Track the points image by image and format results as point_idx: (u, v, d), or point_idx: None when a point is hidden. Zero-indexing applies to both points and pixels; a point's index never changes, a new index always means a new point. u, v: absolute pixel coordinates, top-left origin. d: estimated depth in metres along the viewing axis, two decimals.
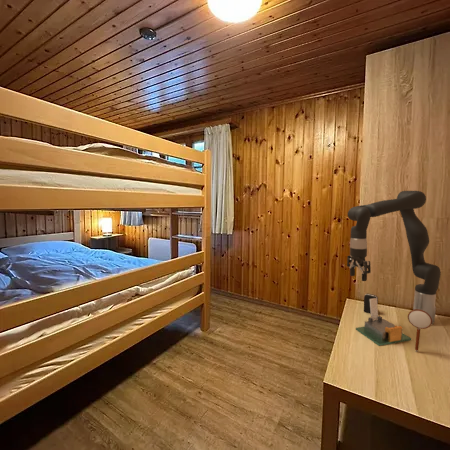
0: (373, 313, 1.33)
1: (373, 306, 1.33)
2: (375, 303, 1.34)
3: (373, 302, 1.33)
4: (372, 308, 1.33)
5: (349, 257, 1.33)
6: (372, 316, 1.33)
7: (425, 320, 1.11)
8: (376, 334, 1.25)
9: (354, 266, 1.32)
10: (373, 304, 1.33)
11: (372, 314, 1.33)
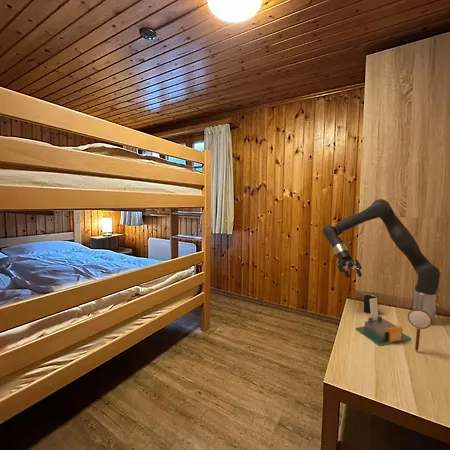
0: (373, 313, 1.33)
1: (373, 306, 1.33)
2: (375, 303, 1.34)
3: (373, 302, 1.33)
4: (372, 308, 1.33)
5: None
6: (372, 316, 1.33)
7: (425, 320, 1.11)
8: (376, 334, 1.25)
9: None
10: (373, 304, 1.33)
11: (372, 314, 1.33)
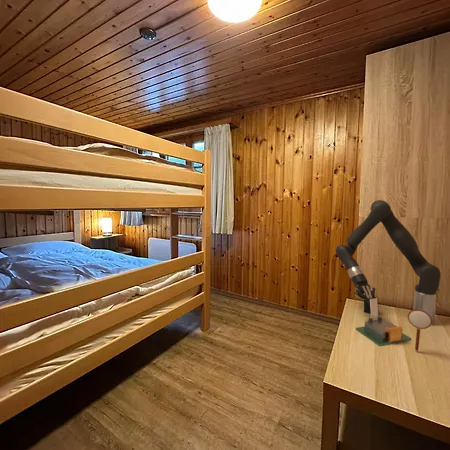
0: (373, 313, 1.33)
1: (373, 306, 1.33)
2: (375, 303, 1.34)
3: (374, 302, 1.33)
4: (372, 308, 1.33)
5: None
6: (372, 316, 1.33)
7: (425, 320, 1.11)
8: (376, 334, 1.25)
9: (369, 295, 1.37)
10: (373, 304, 1.33)
11: (372, 314, 1.33)
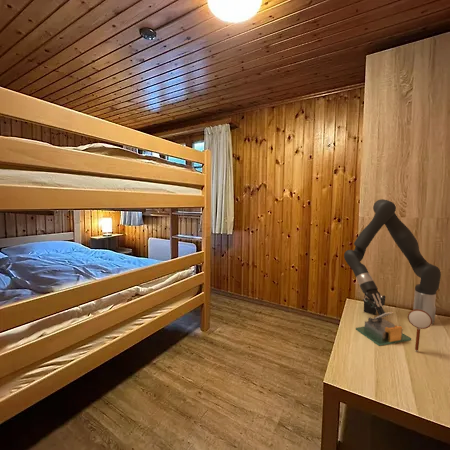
0: (378, 318, 1.30)
1: (383, 315, 1.27)
2: (387, 314, 1.27)
3: (386, 314, 1.26)
4: (381, 316, 1.28)
5: None
6: (375, 319, 1.31)
7: (425, 320, 1.11)
8: (376, 334, 1.25)
9: (379, 303, 1.31)
10: (384, 315, 1.27)
11: (376, 318, 1.30)
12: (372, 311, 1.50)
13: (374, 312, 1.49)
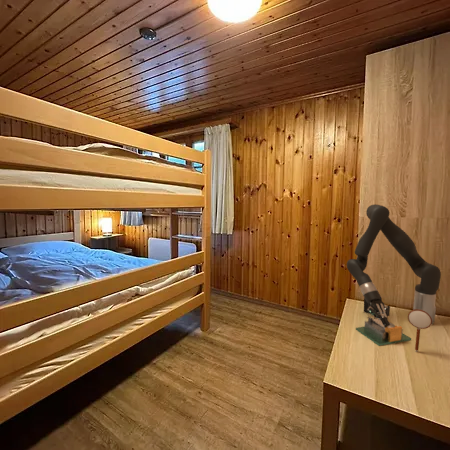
0: None
1: None
2: None
3: None
4: None
5: None
6: None
7: (425, 320, 1.11)
8: (376, 334, 1.25)
9: (383, 314, 1.28)
10: None
11: None
12: None
13: None
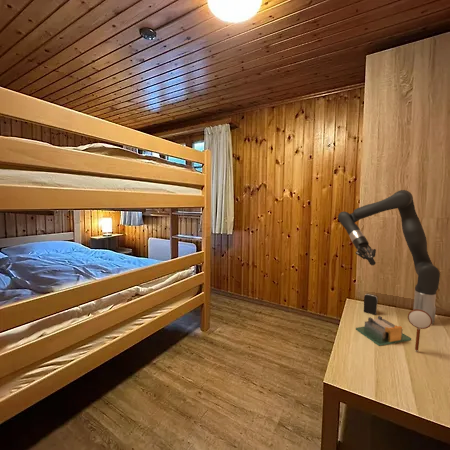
0: None
1: None
2: None
3: None
4: None
5: None
6: None
7: (425, 320, 1.11)
8: (376, 334, 1.25)
9: None
10: None
11: None
12: (372, 311, 1.50)
13: (374, 312, 1.49)
